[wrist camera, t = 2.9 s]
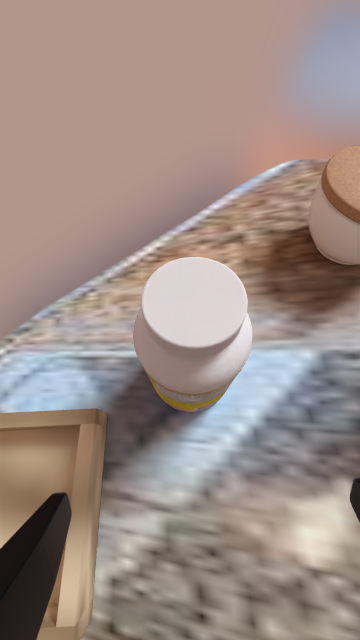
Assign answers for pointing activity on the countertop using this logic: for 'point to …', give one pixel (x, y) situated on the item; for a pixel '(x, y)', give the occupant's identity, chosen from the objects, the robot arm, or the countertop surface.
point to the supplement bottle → (192, 331)
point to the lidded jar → (338, 209)
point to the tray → (51, 477)
